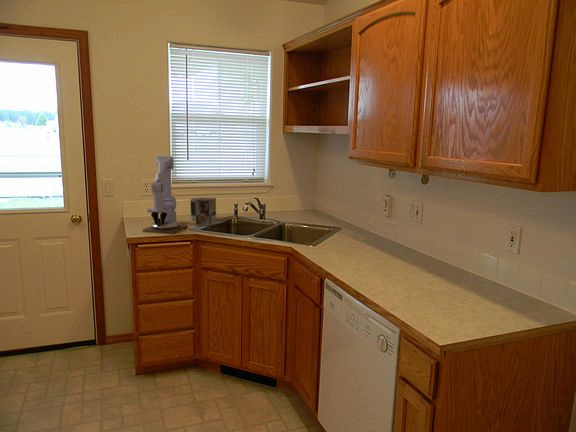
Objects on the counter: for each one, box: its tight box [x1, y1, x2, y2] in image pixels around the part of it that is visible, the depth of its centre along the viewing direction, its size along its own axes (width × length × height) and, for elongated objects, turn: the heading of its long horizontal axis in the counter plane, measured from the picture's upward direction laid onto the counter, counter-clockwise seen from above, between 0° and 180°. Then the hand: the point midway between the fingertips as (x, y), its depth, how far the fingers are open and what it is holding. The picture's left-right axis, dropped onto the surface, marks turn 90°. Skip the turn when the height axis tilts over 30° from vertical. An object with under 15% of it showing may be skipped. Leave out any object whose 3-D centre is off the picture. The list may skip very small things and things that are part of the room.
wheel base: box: [142, 224, 188, 235], centre depth 277 cm, size 19×20×2 cm
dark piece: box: [190, 196, 217, 222], centre depth 309 cm, size 15×10×15 cm, turn 82°
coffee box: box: [195, 200, 213, 227], centre depth 290 cm, size 9×6×16 cm
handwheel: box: [150, 217, 181, 229], centre depth 276 cm, size 17×17×6 cm
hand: (159, 224), depth 269 cm, fingers open, 3 cm apart
